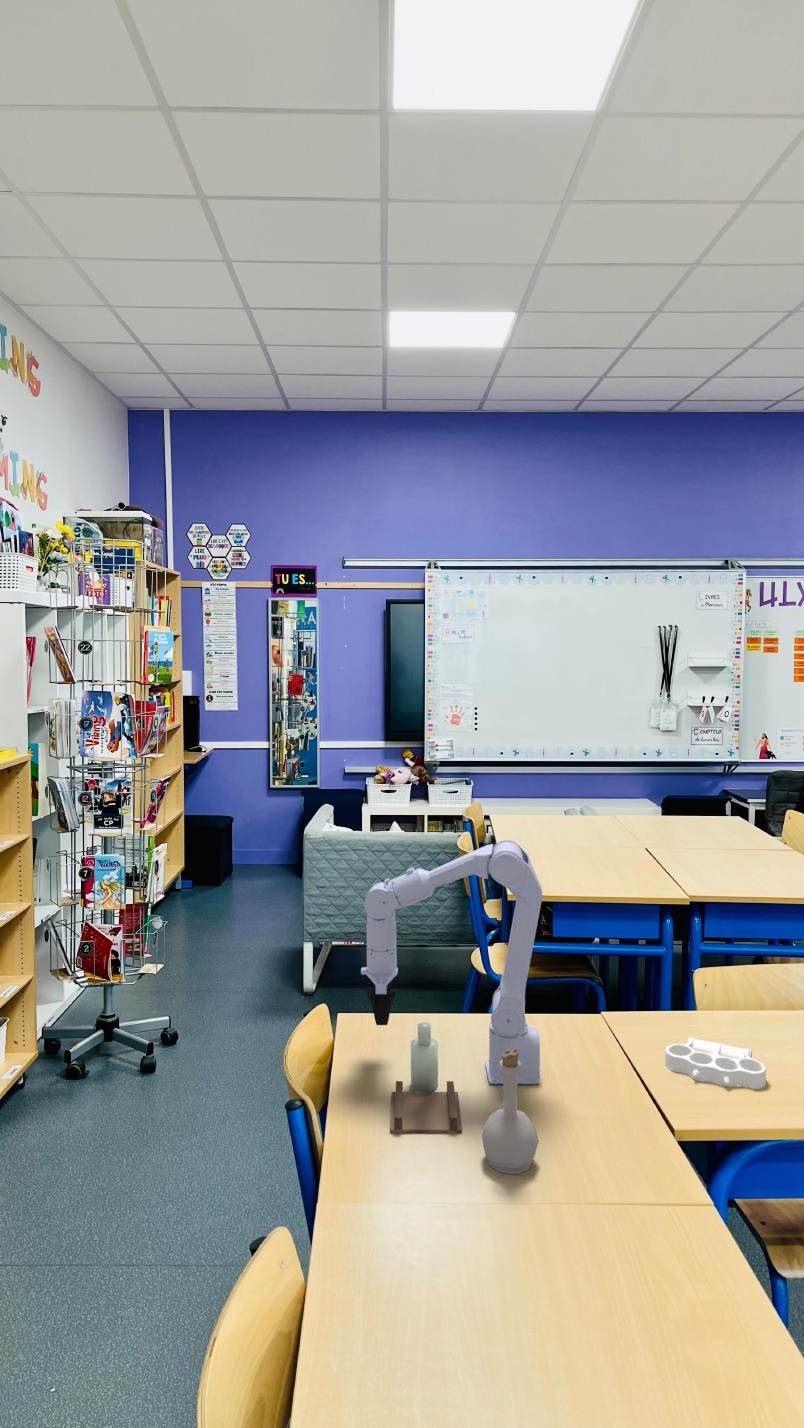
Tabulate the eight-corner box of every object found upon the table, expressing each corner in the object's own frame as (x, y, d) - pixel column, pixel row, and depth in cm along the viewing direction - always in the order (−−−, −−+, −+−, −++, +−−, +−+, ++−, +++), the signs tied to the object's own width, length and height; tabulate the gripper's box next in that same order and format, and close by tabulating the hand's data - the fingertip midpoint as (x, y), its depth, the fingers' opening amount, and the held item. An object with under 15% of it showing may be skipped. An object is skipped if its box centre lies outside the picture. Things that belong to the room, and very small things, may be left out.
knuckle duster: (769, 1065, 162) (762, 1101, 149) (673, 1045, 171) (659, 1078, 158) (769, 1048, 162) (763, 1083, 149) (673, 1029, 170) (660, 1060, 157)
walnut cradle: (457, 1095, 151) (457, 1081, 151) (462, 1133, 139) (462, 1118, 139) (391, 1095, 151) (391, 1081, 151) (390, 1133, 139) (390, 1118, 139)
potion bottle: (536, 1181, 126) (538, 1066, 125) (478, 1174, 128) (478, 1061, 127) (539, 1148, 135) (540, 1040, 133) (484, 1141, 136) (484, 1035, 135)
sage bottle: (437, 1078, 157) (437, 1019, 156) (438, 1092, 152) (438, 1031, 151) (410, 1078, 157) (410, 1019, 156) (410, 1092, 152) (410, 1031, 151)
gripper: (362, 934, 167) (363, 1000, 168) (358, 961, 153) (359, 1033, 154) (397, 934, 167) (398, 1000, 168) (397, 960, 153) (398, 1032, 154)
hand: (382, 1015), depth 161 cm, fingers open, 7 cm apart
